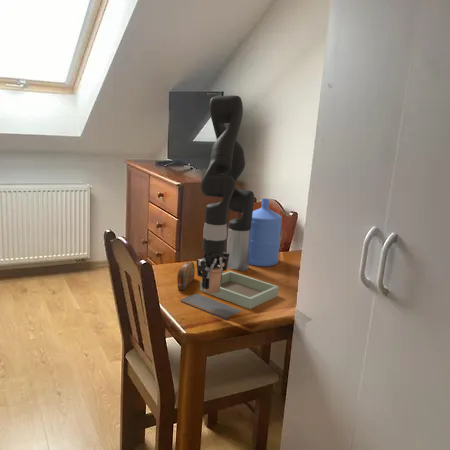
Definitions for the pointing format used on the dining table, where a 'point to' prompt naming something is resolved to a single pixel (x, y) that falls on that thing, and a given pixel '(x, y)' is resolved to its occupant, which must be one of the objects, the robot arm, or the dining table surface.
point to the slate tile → (210, 306)
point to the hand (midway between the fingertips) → (211, 285)
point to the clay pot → (214, 280)
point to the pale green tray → (244, 290)
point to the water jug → (265, 236)
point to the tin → (185, 275)
